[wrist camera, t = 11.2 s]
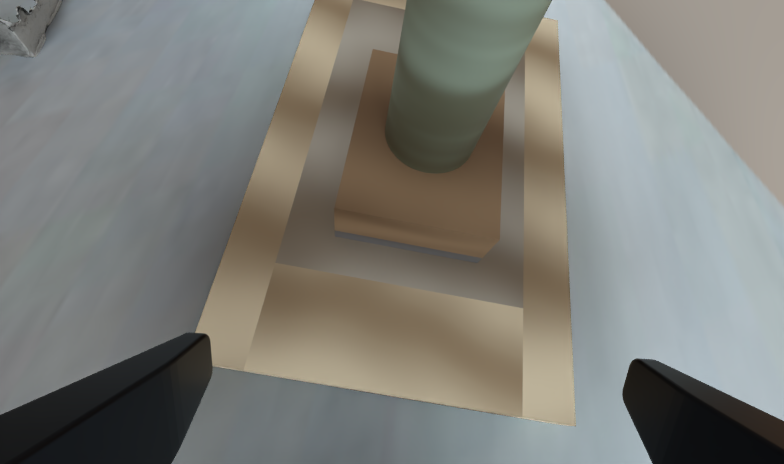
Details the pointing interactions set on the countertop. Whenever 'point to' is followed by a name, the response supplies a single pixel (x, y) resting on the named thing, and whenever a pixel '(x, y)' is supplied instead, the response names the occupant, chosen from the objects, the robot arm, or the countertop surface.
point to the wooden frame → (393, 265)
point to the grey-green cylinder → (436, 129)
